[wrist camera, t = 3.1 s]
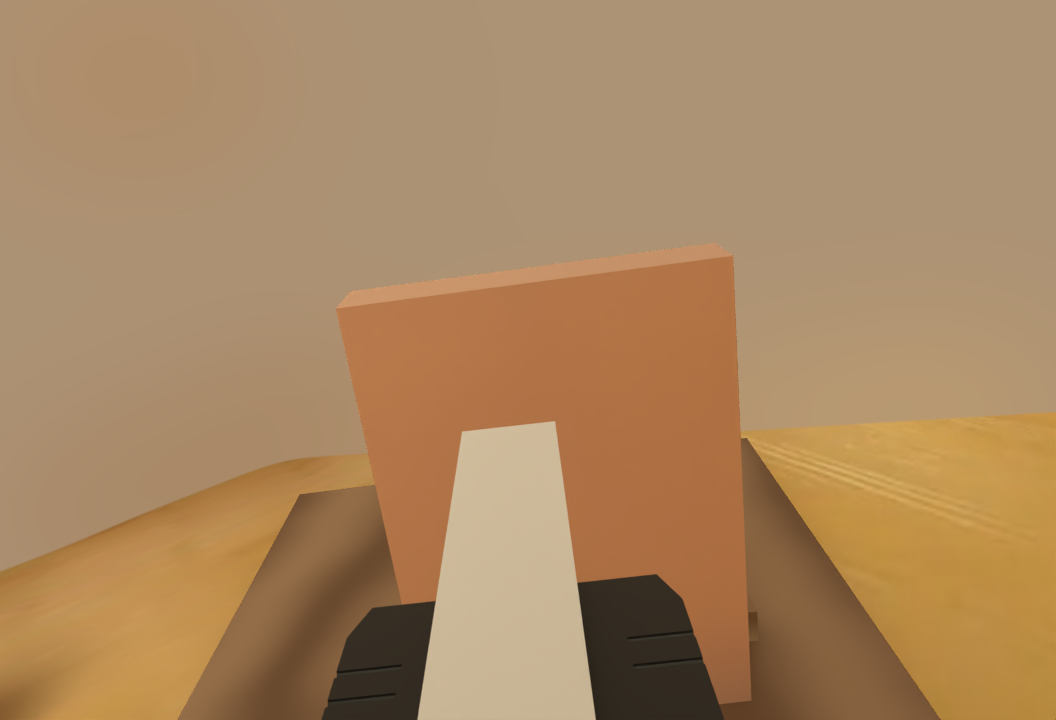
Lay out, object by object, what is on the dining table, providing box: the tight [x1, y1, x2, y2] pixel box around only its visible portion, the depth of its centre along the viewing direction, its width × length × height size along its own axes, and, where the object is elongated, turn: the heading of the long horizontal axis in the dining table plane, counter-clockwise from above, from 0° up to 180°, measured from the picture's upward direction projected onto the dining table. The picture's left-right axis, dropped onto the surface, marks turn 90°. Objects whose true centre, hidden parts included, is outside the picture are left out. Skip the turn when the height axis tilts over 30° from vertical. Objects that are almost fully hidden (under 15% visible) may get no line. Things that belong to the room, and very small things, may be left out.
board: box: [178, 438, 940, 720], centre depth 30 cm, size 24×21×2 cm
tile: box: [336, 243, 752, 704], centre depth 22 cm, size 10×2×14 cm, turn 91°
